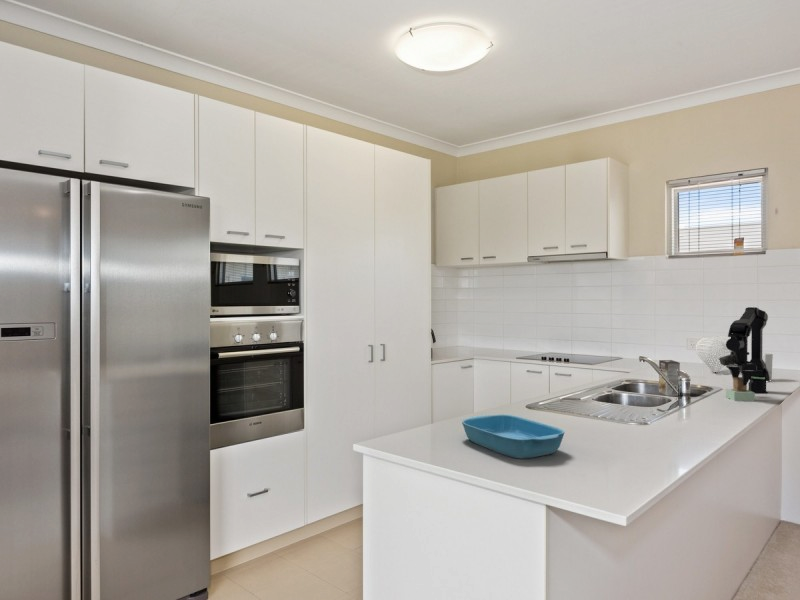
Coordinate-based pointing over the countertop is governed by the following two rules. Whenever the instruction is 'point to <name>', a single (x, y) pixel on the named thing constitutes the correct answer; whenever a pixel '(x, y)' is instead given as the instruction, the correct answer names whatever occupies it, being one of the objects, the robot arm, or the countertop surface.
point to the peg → (739, 385)
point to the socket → (740, 395)
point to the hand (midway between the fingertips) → (739, 383)
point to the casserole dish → (513, 435)
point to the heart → (712, 351)
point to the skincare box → (768, 363)
